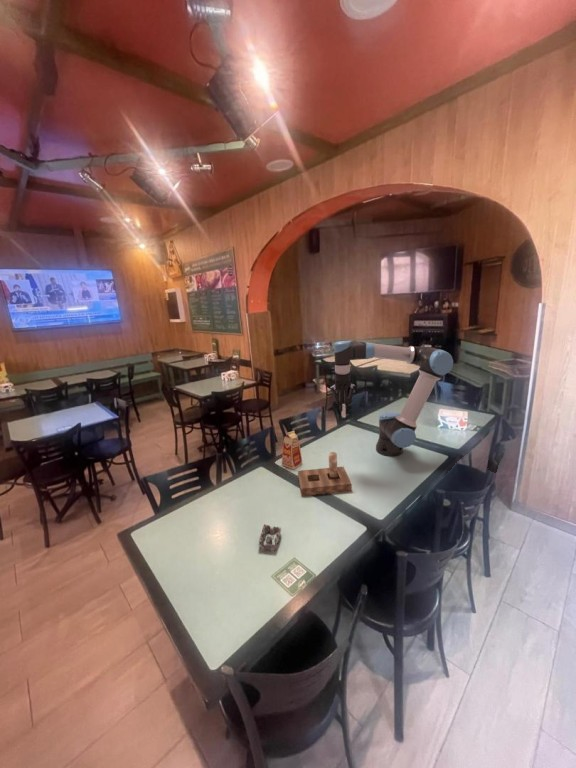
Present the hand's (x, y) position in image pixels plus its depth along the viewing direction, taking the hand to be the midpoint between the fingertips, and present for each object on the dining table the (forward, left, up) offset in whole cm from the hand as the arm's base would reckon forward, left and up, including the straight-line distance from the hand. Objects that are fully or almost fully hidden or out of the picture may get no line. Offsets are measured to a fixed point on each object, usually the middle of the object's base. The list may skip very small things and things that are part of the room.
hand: (343, 416), depth 162 cm
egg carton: (+41, +49, -30) cm, 70 cm away
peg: (+9, +14, -29) cm, 34 cm away
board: (+14, +14, -29) cm, 35 cm away
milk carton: (+28, -9, -30) cm, 42 cm away
